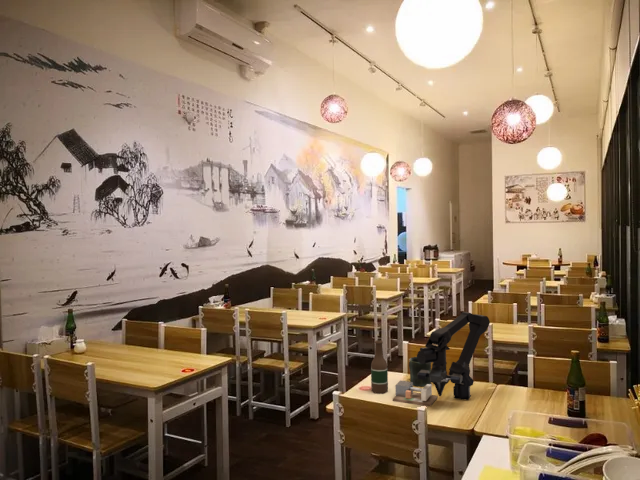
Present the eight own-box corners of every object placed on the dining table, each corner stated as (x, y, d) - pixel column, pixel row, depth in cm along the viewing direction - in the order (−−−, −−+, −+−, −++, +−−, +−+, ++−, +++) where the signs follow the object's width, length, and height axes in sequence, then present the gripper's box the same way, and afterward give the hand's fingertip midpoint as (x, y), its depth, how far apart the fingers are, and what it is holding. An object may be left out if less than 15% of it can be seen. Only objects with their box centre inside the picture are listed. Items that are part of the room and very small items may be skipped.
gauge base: (437, 397, 226) (437, 395, 226) (430, 406, 215) (430, 403, 215) (401, 392, 234) (401, 390, 234) (392, 400, 223) (392, 398, 223)
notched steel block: (413, 393, 230) (412, 382, 230) (408, 397, 224) (408, 386, 224) (400, 391, 233) (400, 380, 233) (395, 395, 227) (395, 384, 227)
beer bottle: (387, 394, 232) (386, 342, 232) (370, 393, 234) (369, 342, 233) (388, 389, 240) (387, 339, 239) (372, 388, 241) (371, 338, 241)
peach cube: (411, 397, 223) (411, 390, 223) (410, 398, 221) (409, 392, 221) (407, 396, 224) (406, 390, 224) (405, 398, 222) (405, 391, 222)
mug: (418, 388, 240) (417, 363, 239) (401, 380, 253) (400, 356, 253) (436, 385, 244) (436, 360, 244) (419, 377, 257) (418, 354, 257)
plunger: (431, 394, 226) (431, 384, 226) (425, 401, 218) (425, 390, 218) (412, 391, 230) (412, 382, 230) (405, 398, 222) (405, 388, 222)
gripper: (413, 363, 216) (413, 398, 217) (456, 367, 208) (457, 405, 208) (420, 356, 226) (421, 391, 227) (462, 361, 217) (463, 396, 218)
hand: (440, 396), depth 219 cm, fingers closed
